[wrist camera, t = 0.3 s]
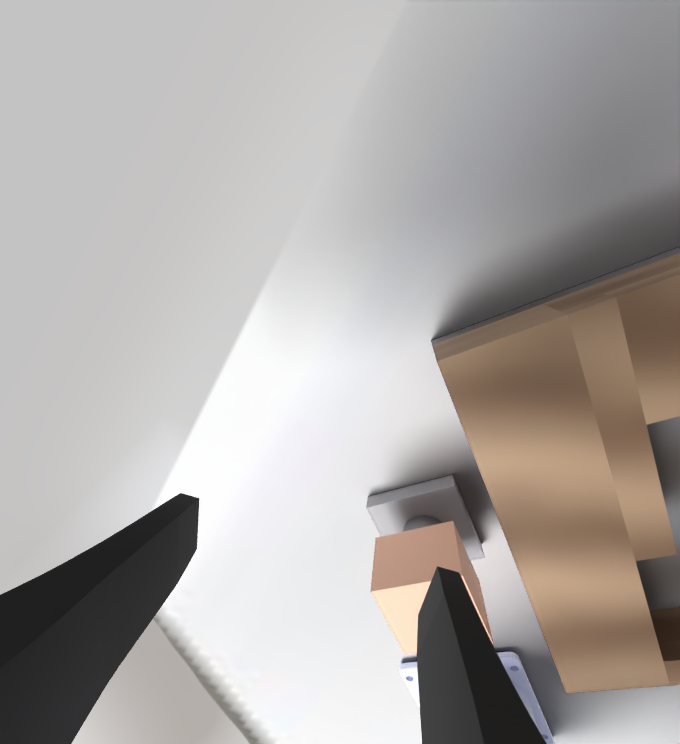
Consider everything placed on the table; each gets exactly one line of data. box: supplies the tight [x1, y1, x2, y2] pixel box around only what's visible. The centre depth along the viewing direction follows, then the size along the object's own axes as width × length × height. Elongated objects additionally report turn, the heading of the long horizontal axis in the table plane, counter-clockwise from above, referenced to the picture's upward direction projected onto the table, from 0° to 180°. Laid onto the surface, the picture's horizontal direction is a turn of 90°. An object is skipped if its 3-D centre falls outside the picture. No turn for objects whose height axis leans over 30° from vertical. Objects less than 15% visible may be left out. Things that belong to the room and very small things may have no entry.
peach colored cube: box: [366, 475, 493, 654], centre depth 18 cm, size 5×5×6 cm
